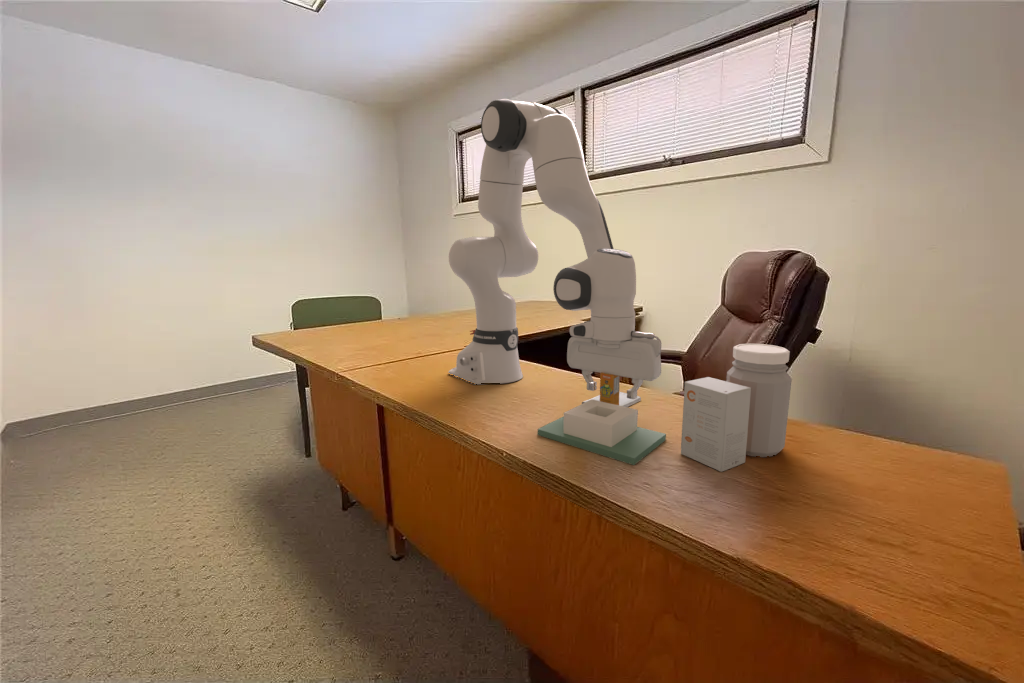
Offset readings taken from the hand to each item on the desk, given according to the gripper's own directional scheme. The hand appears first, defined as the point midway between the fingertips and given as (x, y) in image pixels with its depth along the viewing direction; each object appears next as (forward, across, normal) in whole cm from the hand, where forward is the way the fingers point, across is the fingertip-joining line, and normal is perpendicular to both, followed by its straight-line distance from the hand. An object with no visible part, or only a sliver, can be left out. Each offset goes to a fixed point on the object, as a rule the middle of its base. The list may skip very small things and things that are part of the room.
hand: (611, 394), depth 94 cm
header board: (+5, -4, +11) cm, 13 cm away
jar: (+6, -27, -2) cm, 27 cm away
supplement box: (+5, 0, 0) cm, 5 cm away
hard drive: (+6, +4, -8) cm, 11 cm away
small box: (+6, -23, +7) cm, 24 cm away
